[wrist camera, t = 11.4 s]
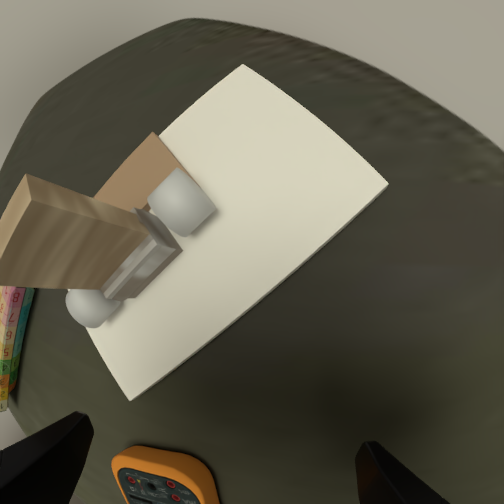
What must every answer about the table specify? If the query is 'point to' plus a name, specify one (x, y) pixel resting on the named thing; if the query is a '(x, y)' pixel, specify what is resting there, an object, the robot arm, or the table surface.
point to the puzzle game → (12, 335)
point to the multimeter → (162, 477)
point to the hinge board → (223, 220)
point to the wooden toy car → (80, 242)
